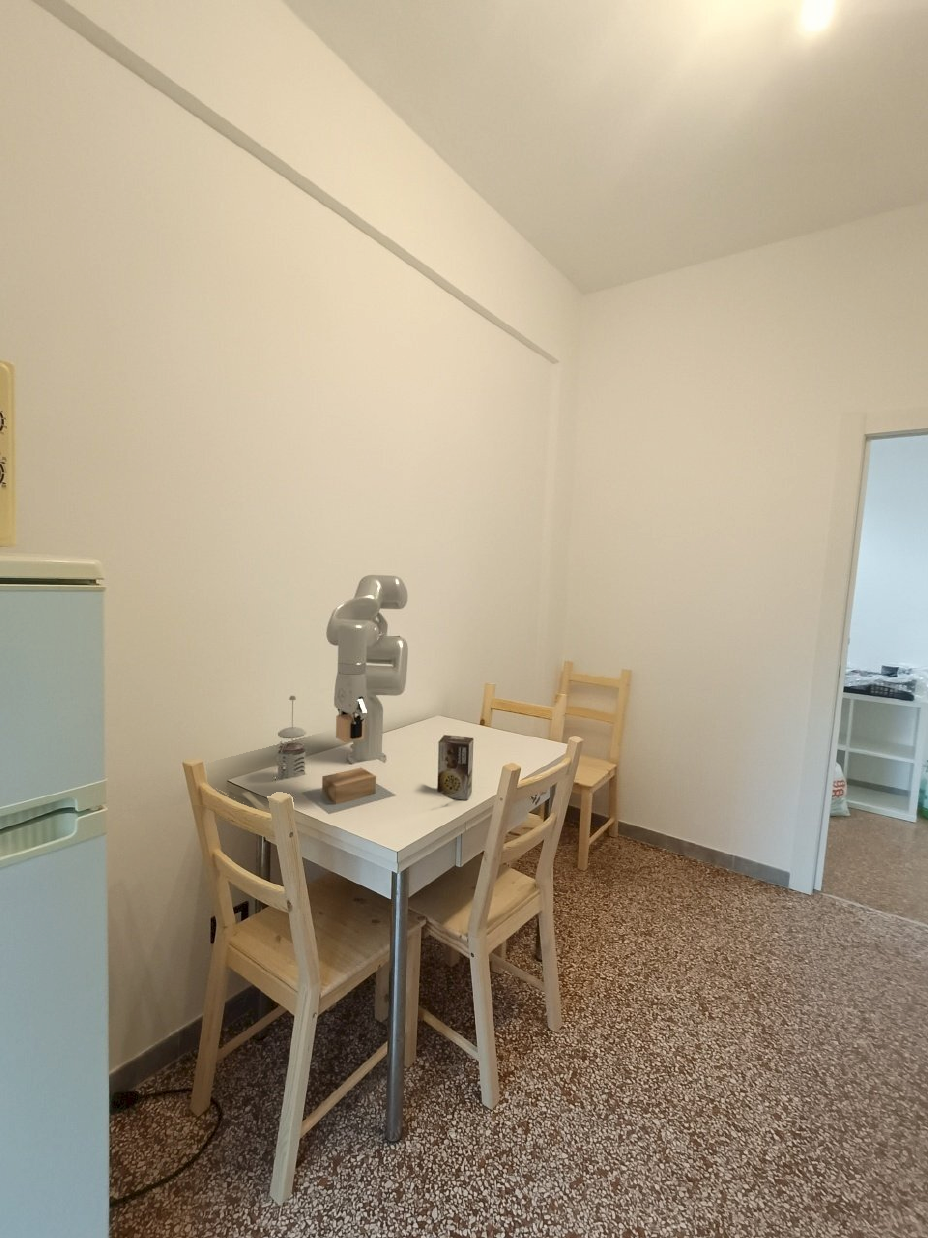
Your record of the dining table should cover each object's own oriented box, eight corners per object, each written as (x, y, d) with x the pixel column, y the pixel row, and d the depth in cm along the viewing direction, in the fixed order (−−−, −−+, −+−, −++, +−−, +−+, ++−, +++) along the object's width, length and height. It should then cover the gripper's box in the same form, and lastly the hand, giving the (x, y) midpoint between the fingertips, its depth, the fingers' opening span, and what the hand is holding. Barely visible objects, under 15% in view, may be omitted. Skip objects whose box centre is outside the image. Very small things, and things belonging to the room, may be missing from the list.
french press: (314, 774, 166) (316, 693, 164) (293, 788, 155) (294, 702, 153) (286, 770, 169) (287, 690, 167) (263, 783, 158) (264, 698, 155)
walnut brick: (322, 794, 148) (322, 776, 148) (360, 784, 156) (361, 767, 155) (336, 804, 142) (336, 786, 142) (375, 793, 150) (376, 776, 149)
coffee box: (472, 791, 158) (474, 737, 156) (467, 800, 151) (469, 744, 150) (442, 787, 160) (444, 734, 158) (435, 796, 153) (438, 740, 152)
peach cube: (336, 737, 148) (336, 715, 147) (354, 734, 151) (354, 712, 151) (345, 742, 144) (346, 720, 143) (364, 739, 147) (364, 717, 147)
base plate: (301, 798, 149) (301, 793, 148) (365, 782, 162) (365, 777, 162) (328, 819, 137) (329, 814, 136) (395, 800, 150) (395, 795, 149)
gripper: (324, 665, 150) (323, 729, 151) (355, 675, 137) (353, 745, 139) (348, 663, 155) (347, 725, 156) (381, 672, 142) (379, 740, 143)
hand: (350, 734), depth 147 cm, fingers closed on peach cube, 5 cm apart
